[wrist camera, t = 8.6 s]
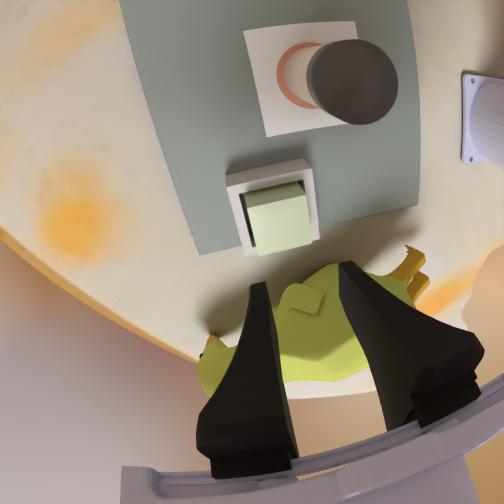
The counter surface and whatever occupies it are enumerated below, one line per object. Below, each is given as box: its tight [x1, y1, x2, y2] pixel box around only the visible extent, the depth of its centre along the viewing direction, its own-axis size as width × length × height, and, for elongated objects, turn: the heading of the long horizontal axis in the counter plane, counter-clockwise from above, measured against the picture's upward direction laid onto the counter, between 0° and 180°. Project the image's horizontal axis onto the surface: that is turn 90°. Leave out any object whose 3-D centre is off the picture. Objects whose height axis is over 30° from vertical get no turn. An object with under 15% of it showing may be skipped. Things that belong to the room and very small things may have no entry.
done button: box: [244, 181, 312, 256], centre depth 19 cm, size 3×3×2 cm
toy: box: [197, 245, 430, 398], centre depth 22 cm, size 6×17×20 cm
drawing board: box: [119, 0, 420, 257], centre depth 15 cm, size 18×23×2 cm
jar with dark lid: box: [283, 39, 398, 125], centre depth 13 cm, size 4×4×7 cm
